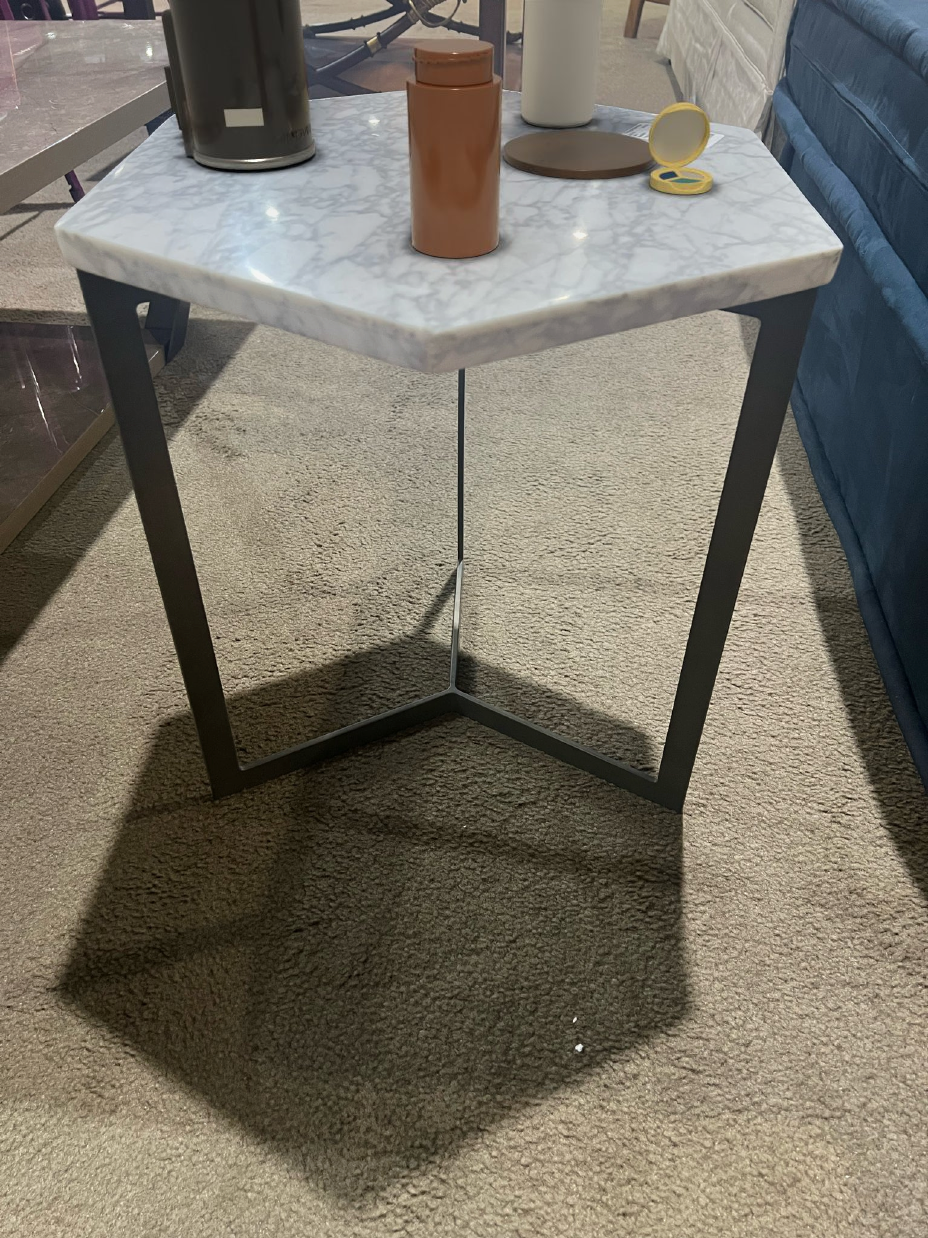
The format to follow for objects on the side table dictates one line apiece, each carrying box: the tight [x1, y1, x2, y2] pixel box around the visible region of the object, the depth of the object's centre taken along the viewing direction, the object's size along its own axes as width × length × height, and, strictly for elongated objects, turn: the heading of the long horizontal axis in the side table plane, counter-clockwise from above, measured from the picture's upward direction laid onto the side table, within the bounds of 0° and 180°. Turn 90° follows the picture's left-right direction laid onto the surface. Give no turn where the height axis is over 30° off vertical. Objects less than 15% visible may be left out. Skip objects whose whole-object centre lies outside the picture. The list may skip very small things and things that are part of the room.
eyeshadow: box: [647, 101, 714, 195], centre depth 66 cm, size 4×5×5 cm
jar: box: [405, 38, 503, 259], centre depth 54 cm, size 5×5×11 cm
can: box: [520, 0, 604, 129], centre depth 78 cm, size 6×6×12 cm
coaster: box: [502, 129, 657, 180], centre depth 73 cm, size 12×12×1 cm
